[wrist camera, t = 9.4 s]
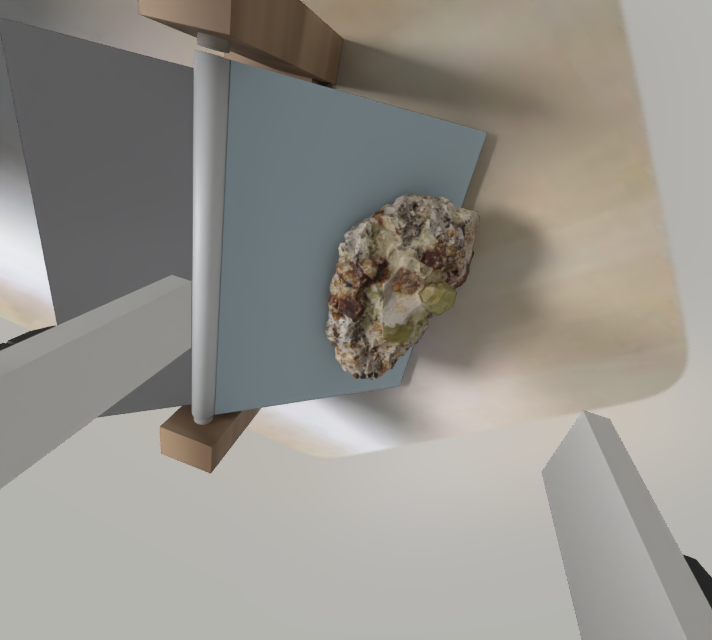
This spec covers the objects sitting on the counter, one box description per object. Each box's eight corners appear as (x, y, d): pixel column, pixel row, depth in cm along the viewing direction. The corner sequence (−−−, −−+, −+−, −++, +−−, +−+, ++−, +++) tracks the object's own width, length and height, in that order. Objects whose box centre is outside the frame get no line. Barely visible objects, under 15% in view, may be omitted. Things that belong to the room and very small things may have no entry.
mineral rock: (396, 157, 14) (538, 246, 17) (371, 150, 18) (491, 224, 21) (281, 373, 18) (416, 416, 21) (281, 329, 21) (394, 370, 24)
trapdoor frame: (218, 347, 29) (113, 434, 20) (234, 15, 19) (42, -96, 10) (289, 371, 28) (210, 473, 19) (342, 38, 18) (233, -59, 10)
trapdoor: (93, 344, 22) (75, 439, 17) (45, 18, 15) (-16, -11, 9) (353, 328, 31) (400, 388, 25) (405, 116, 24) (490, 133, 18)
